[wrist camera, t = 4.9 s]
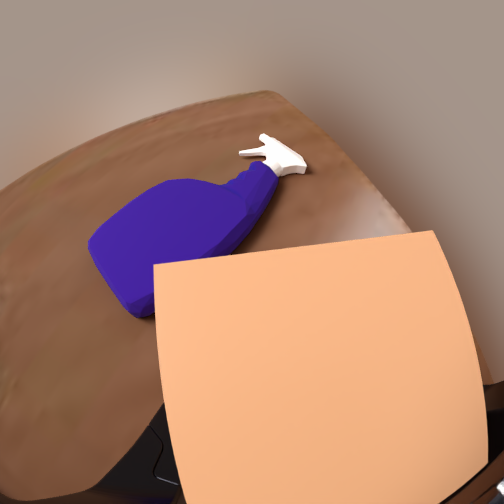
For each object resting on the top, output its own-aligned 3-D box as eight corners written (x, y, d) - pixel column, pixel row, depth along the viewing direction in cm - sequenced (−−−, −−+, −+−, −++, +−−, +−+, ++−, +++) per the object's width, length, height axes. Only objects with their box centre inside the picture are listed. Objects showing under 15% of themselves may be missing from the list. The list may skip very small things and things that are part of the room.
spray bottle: (134, 324, 18) (330, 166, 28) (76, 234, 21) (258, 121, 31) (146, 332, 21) (323, 184, 30) (88, 249, 24) (256, 138, 34)
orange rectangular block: (298, 418, 13) (487, 462, 2) (228, 431, 12) (214, 576, 1) (285, 354, 15) (432, 230, 4) (216, 365, 14) (153, 264, 3)
